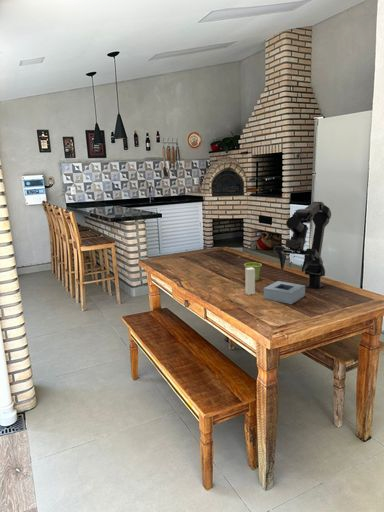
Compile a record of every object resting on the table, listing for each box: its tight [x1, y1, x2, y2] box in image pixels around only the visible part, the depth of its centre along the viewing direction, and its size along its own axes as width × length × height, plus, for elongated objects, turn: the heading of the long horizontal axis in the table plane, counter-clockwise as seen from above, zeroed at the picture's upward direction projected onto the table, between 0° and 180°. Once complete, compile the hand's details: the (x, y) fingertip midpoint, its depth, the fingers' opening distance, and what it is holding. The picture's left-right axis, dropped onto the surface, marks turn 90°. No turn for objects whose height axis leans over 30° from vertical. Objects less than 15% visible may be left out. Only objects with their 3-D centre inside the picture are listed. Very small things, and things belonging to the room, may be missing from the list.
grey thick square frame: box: [263, 280, 306, 305], centre depth 181 cm, size 14×14×5 cm
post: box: [244, 267, 256, 296], centre depth 187 cm, size 4×4×12 cm
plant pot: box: [243, 261, 263, 282], centre depth 210 cm, size 9×9×9 cm
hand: (291, 270), depth 169 cm, fingers open, 9 cm apart
